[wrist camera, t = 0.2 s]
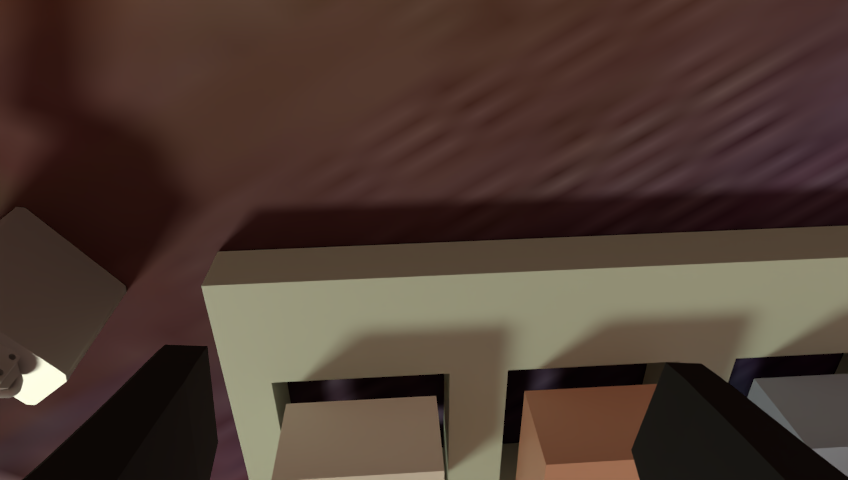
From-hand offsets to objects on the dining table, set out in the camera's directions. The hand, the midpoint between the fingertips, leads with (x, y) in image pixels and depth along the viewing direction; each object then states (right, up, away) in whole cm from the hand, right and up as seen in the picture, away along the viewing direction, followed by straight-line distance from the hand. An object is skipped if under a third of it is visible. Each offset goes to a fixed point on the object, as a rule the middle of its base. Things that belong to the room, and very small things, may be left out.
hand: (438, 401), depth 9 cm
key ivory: (-2, -5, +11) cm, 13 cm away
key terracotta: (+6, -5, +12) cm, 14 cm away
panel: (+6, -3, +14) cm, 15 cm away
